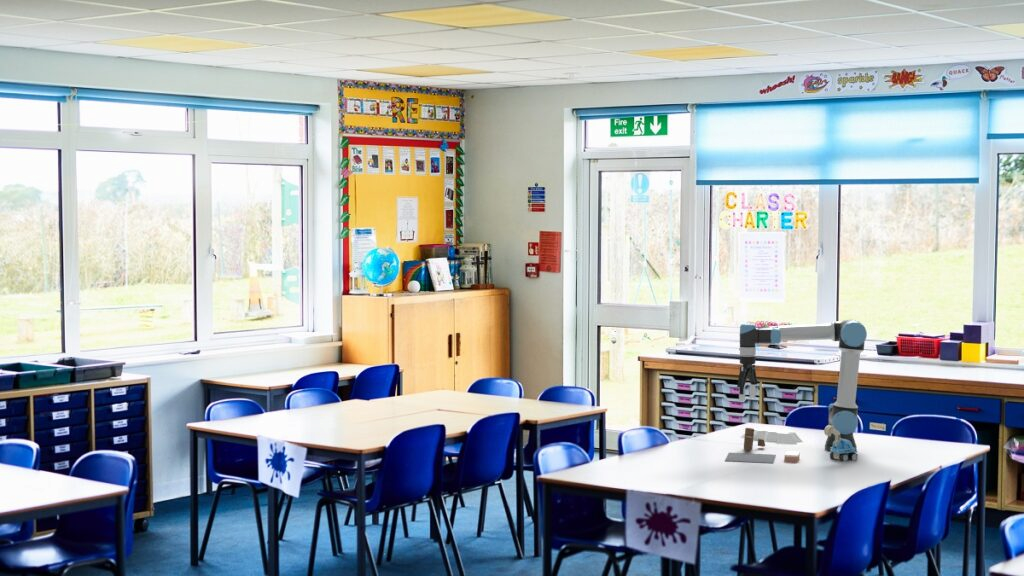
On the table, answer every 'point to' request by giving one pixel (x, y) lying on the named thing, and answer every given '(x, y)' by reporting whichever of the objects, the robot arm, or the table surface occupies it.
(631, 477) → the table surface
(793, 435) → the paper sheets
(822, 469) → the table surface
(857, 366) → the robot arm
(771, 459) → the rubber mat
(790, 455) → the card deck
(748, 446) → the wooden block set
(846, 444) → the toy excavator
